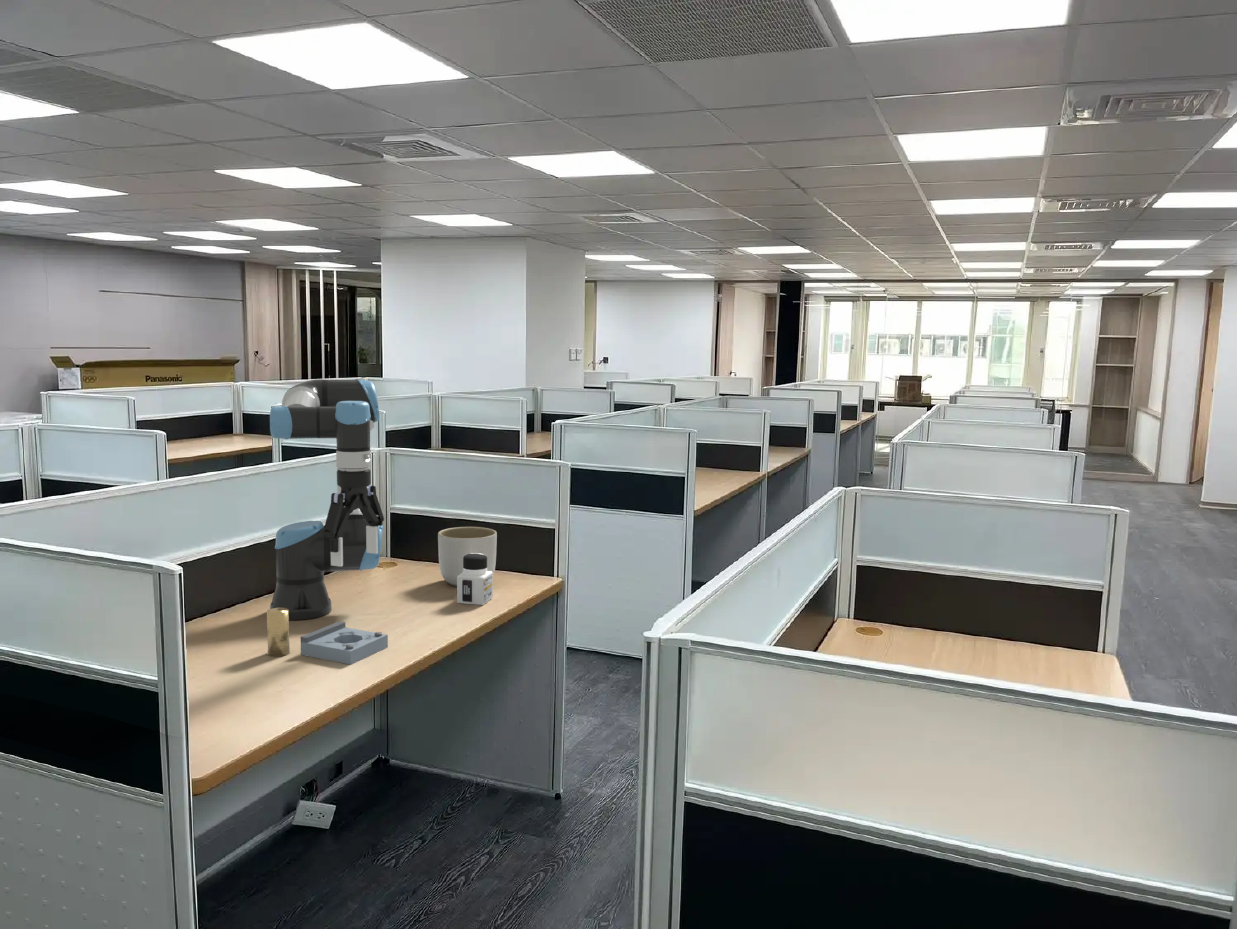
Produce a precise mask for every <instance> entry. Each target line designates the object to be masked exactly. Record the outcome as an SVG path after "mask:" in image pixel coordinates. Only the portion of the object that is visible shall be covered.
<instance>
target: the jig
mask: <svg viewBox="0 0 1237 929" xmlns="http://www.w3.org/2000/svg"><path fill="white" fill-rule="evenodd" d="M388 640H389V636H388V634H385V633H383V632H381V631H376V632H373V631H369V630H363V629H356V628H351V627H346V622H344V621H337V622H335V623H331V624H329V625H327V626H324V627H322V628H319V629H317V630H314V631H311V632H308V633H306V634H304V635H302V636H300V655H301V656H306V657H311V658H314V659H315V658H316V659H321V660H326V661H331V662H337V663H341V664H347V665H353V664H355V663H357V662H359V661H361V660H363V659H366V658H368V657H370V656H372V655H375V654H377V653H379V652H381V651H383V650H385V649H387V648H388V646H389V643H388V642H389V641H388Z"/></svg>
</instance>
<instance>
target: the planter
mask: <svg viewBox="0 0 1237 929" xmlns="http://www.w3.org/2000/svg"><path fill="white" fill-rule="evenodd" d="M497 534H498V533H497V531H496V530H494V529H492V528H489V527H482V526H458V527H457V526H456V527H449V528H445V529H442V530H440V531H438V533H437V543H438V544H437V545H438V546H437V547H438V548H437V549H438V565H439V573H440V574H441V577H442V578H443V579H444V581H446V583H447V584H449V585H451V586H455V587H457V576H458V575H460V574H461V573H463V572H464V571H463V557H464V556H465V555H467V554H470V553H481V554H484V555H486V556H487V571H492V572H493V575H494V574H495V570H496V562H497V545H498V544H497V543H498V542H497V540H498V539H497V538H498V535H497Z"/></svg>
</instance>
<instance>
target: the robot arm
mask: <svg viewBox="0 0 1237 929" xmlns="http://www.w3.org/2000/svg"><path fill="white" fill-rule="evenodd" d="M379 408H380V407H379V400H378V394H377V390H376V386H375V384H374V383H373V382H372V381H371V380H369V379H368V380H365V379H357V378H356V379H322V378H321V379H320V378H319V379H318V378H317V379H310V380H307V381H303V382H300V383H297V384H295V385H294V386H292V387H290V388H289V389H288V390H287V391H286V392H285V393H284V395H283V398H282V401H281V406H273V407H271V409H270V412H269V429H270V430H269V431H270V436H271V437H272V438H273V439H284V440H293V439H296V440H297V439H300V440H301V439H336V447H335V448H336V450H335V452H336V453H335V454H336V455H335V459H336V461H335V463H336V465H335V466H336V486H337V487H336V488H337V489H336V490H337V491H336V492H337V493H335V492H332V493H331V496H330V506H329V509H328V512H327V516H326V520H325V522H324V523H323V521H320V520H305V521H299V522H294V523H289V524H287V525H284V526H282V527H280V528H279V529H278V530H277V531H276V534H275V545H274V549H275V558H276V559H275V563H276V564H275V565H276V566H275V568H276V569H275V570H276V585H275V589H274V591H273V596H272V599H271V600H272V601H271V602H270V605H269V609H272V608H287V609H289V621H296V620H297V621H299V620H308V619H309V620H310V619H315V618H319V617H323V616H326V615H328V614H329V613H331V611H332V600H331V598H330V597H329V593H328V590H327V586H326V584H325V583H326V582H325V575H324V574H325V572H345V571H349V572H350V571H359V572H362V571H365V570H366V571H367V570H374V569H376V568H377V567H378V566H379V565H380V558H381V548H382V540H383V530H384V525H383V523H384V521H385V517H384V514H383V510H382V507H381V505H380V502H379V498H378V496H377V488H376V486H375V485H371V484H372V472H371V471H372V470H371V431H372V430H373V429H374V427H375V423H377V422H379V420H380V409H379Z"/></svg>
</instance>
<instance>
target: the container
mask: <svg viewBox="0 0 1237 929" xmlns="http://www.w3.org/2000/svg"><path fill="white" fill-rule="evenodd" d="M463 571H464V572H463V573H461V574H460V575H458V576H457V586H456V602H457V604H465V605H466V604H467V605H477V606H484V605H485V604H487V603H488V602H490V601H491V600H492V599H493V597H494V593H493V591H494V587H493V586H494V582H493V581H494V577H493V576H494V574H493V572H492V571H487V556H486V555H484V554H481V553H470V554H467V555H465V556H464V557H463Z"/></svg>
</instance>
